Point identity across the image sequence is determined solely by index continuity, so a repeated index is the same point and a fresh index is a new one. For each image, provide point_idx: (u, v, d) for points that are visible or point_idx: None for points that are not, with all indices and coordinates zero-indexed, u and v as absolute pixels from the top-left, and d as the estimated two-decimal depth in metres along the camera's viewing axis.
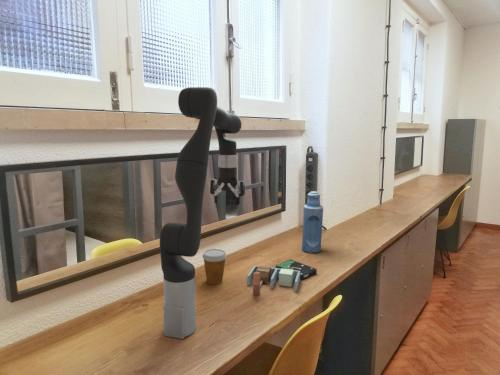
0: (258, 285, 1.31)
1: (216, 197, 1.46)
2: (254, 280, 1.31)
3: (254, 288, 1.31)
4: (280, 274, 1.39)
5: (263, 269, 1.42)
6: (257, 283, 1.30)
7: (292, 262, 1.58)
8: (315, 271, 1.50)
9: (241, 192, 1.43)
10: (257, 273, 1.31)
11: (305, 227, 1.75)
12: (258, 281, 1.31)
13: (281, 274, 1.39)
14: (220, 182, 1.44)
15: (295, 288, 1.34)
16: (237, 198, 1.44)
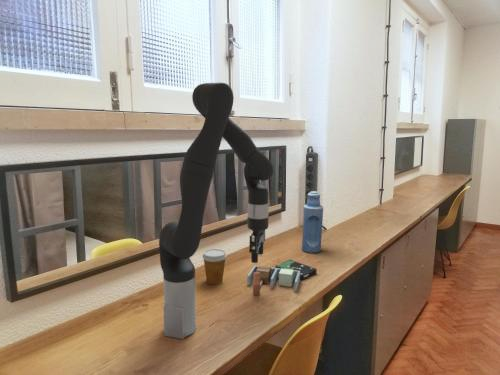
0: (258, 285, 1.31)
1: (257, 254, 1.25)
2: (254, 280, 1.31)
3: (254, 288, 1.31)
4: (280, 274, 1.39)
5: (263, 269, 1.42)
6: (257, 283, 1.30)
7: (292, 262, 1.58)
8: (315, 271, 1.50)
9: (264, 237, 1.35)
10: (257, 273, 1.31)
11: (305, 227, 1.75)
12: (258, 281, 1.31)
13: (281, 274, 1.39)
14: (259, 235, 1.26)
15: (295, 288, 1.34)
16: None
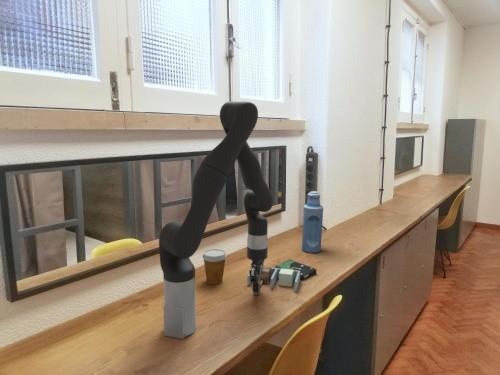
0: None
1: (258, 284, 1.30)
2: None
3: None
4: (280, 274, 1.39)
5: (263, 269, 1.42)
6: None
7: (291, 262, 1.57)
8: (315, 271, 1.50)
9: None
10: (257, 273, 1.31)
11: (305, 227, 1.75)
12: None
13: (281, 274, 1.39)
14: (258, 267, 1.28)
15: (295, 288, 1.34)
16: None
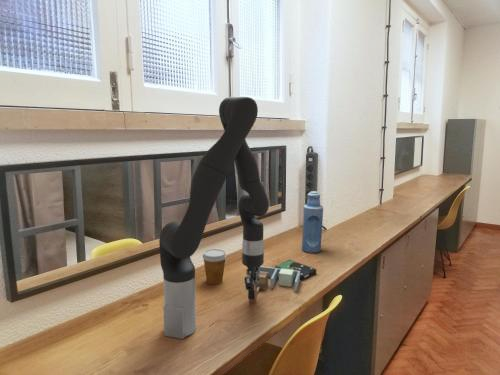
0: None
1: (254, 291, 1.24)
2: None
3: None
4: (280, 274, 1.39)
5: (260, 275, 1.36)
6: None
7: (291, 262, 1.57)
8: (315, 271, 1.50)
9: None
10: None
11: (305, 227, 1.75)
12: None
13: (281, 274, 1.39)
14: (254, 274, 1.22)
15: (295, 288, 1.34)
16: None
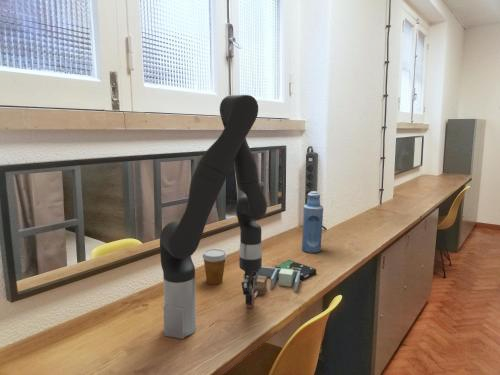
0: (252, 298, 1.21)
1: None
2: None
3: None
4: (280, 274, 1.39)
5: (258, 279, 1.33)
6: None
7: (291, 262, 1.57)
8: (315, 271, 1.50)
9: (256, 281, 1.25)
10: None
11: (305, 227, 1.75)
12: None
13: (281, 274, 1.39)
14: (251, 278, 1.18)
15: (295, 288, 1.34)
16: None
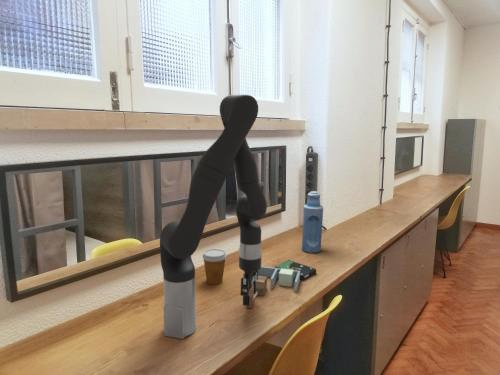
0: (251, 298, 1.21)
1: (249, 297, 1.18)
2: None
3: None
4: (280, 274, 1.39)
5: (258, 279, 1.33)
6: (250, 295, 1.21)
7: (291, 263, 1.57)
8: (315, 271, 1.50)
9: (257, 276, 1.27)
10: None
11: (305, 227, 1.75)
12: (251, 293, 1.21)
13: (281, 274, 1.39)
14: (251, 276, 1.18)
15: (295, 288, 1.34)
16: None
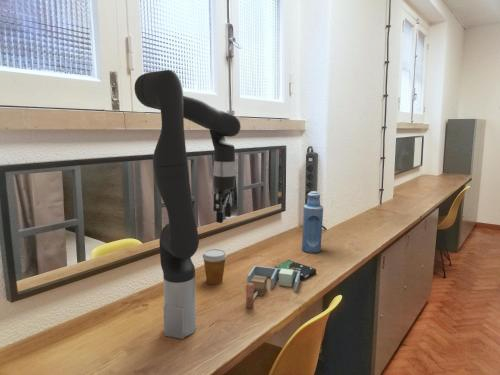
0: (251, 298, 1.21)
1: (222, 214, 1.21)
2: (247, 292, 1.21)
3: (247, 300, 1.22)
4: (280, 274, 1.39)
5: (258, 279, 1.33)
6: (250, 295, 1.21)
7: (291, 263, 1.57)
8: (315, 271, 1.50)
9: (233, 200, 1.30)
10: (250, 284, 1.22)
11: (305, 227, 1.75)
12: (251, 293, 1.21)
13: (281, 274, 1.39)
14: (224, 194, 1.21)
15: (295, 288, 1.34)
16: (230, 207, 1.29)
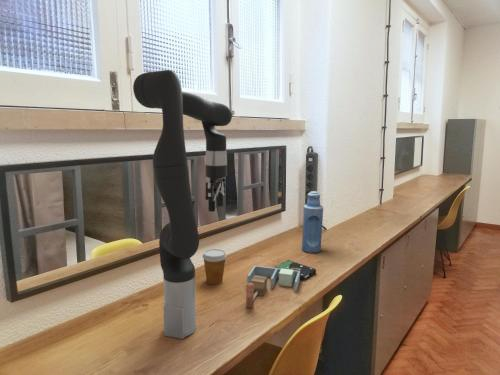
0: (251, 298, 1.21)
1: (214, 202, 1.22)
2: (247, 292, 1.21)
3: (247, 300, 1.22)
4: (280, 274, 1.39)
5: (258, 279, 1.33)
6: (250, 295, 1.21)
7: (290, 263, 1.57)
8: (315, 271, 1.50)
9: (225, 189, 1.32)
10: (250, 284, 1.22)
11: (305, 227, 1.75)
12: (251, 293, 1.21)
13: (281, 274, 1.39)
14: (216, 183, 1.23)
15: (295, 288, 1.34)
16: (222, 197, 1.31)
